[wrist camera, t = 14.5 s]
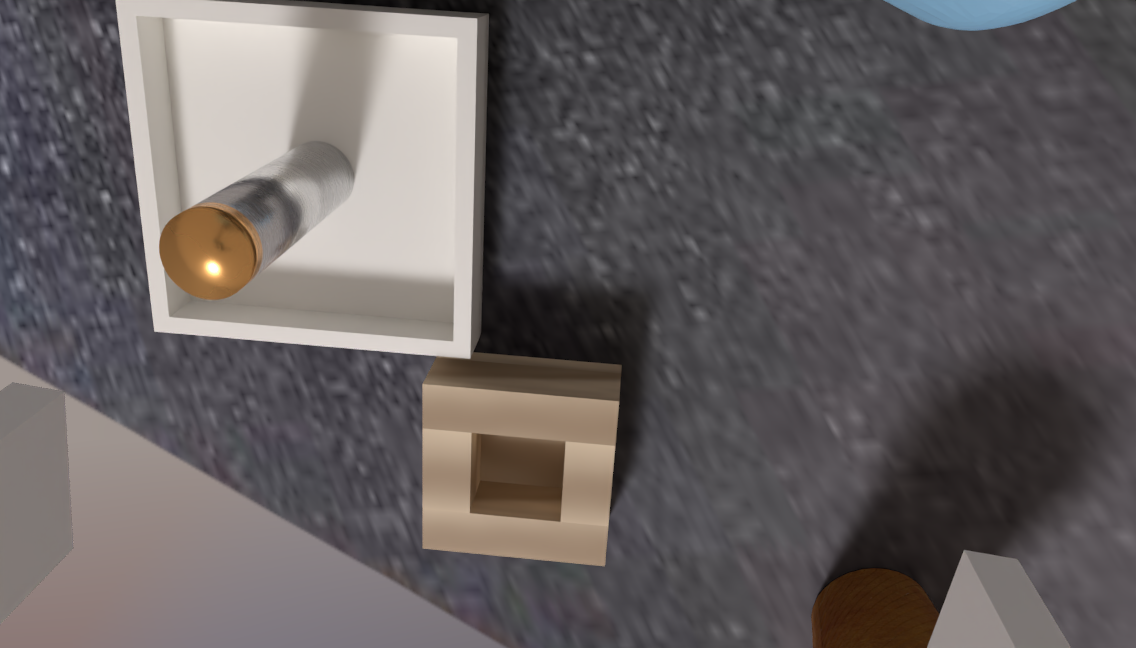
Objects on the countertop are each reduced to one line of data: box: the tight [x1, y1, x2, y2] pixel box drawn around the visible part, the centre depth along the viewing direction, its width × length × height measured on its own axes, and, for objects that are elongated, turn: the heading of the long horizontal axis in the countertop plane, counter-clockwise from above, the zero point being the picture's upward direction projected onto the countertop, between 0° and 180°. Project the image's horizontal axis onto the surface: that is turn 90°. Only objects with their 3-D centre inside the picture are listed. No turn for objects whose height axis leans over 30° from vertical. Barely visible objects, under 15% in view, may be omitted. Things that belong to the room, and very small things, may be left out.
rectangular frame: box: [116, 0, 489, 359], centre depth 42 cm, size 15×15×3 cm
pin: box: [159, 141, 354, 300], centre depth 37 cm, size 3×3×12 cm
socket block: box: [423, 352, 622, 566], centre depth 46 cm, size 9×9×4 cm
